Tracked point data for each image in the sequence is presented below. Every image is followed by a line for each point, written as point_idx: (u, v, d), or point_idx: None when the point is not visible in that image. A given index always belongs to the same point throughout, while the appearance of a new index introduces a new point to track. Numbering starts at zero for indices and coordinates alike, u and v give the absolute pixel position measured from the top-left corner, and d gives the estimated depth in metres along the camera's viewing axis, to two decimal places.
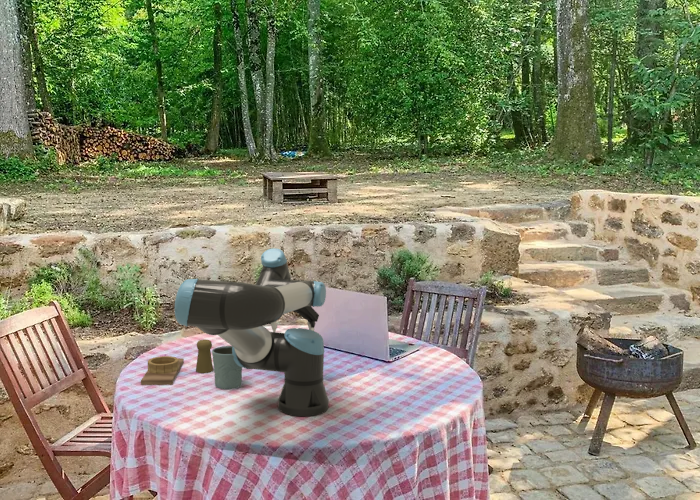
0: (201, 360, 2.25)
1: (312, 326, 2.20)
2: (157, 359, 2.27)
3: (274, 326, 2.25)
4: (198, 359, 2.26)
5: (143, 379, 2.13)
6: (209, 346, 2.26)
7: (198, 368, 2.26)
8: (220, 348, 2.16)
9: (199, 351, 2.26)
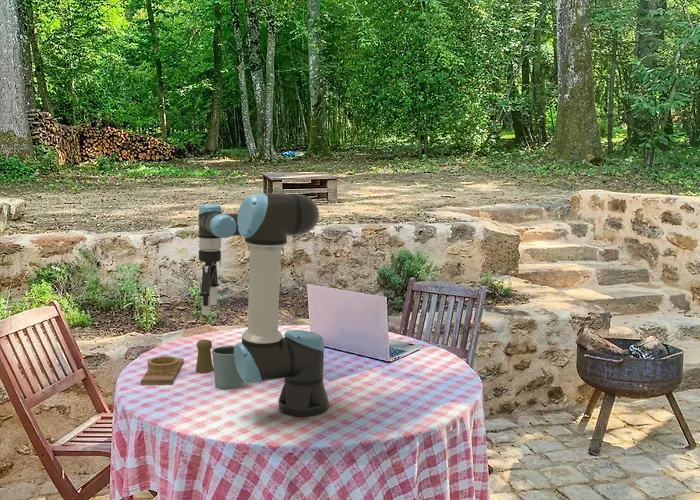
0: (201, 360, 2.25)
1: None
2: (157, 359, 2.27)
3: None
4: (198, 359, 2.26)
5: (143, 379, 2.13)
6: (209, 346, 2.26)
7: (198, 368, 2.26)
8: (220, 348, 2.16)
9: (199, 351, 2.26)
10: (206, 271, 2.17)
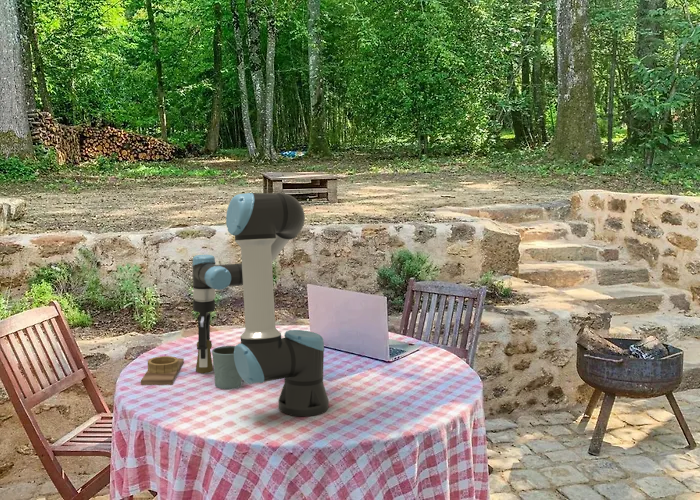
0: None
1: None
2: (157, 359, 2.27)
3: None
4: (198, 359, 2.26)
5: (143, 379, 2.13)
6: (209, 346, 2.26)
7: (198, 368, 2.26)
8: (220, 348, 2.16)
9: None
10: (202, 326, 2.20)
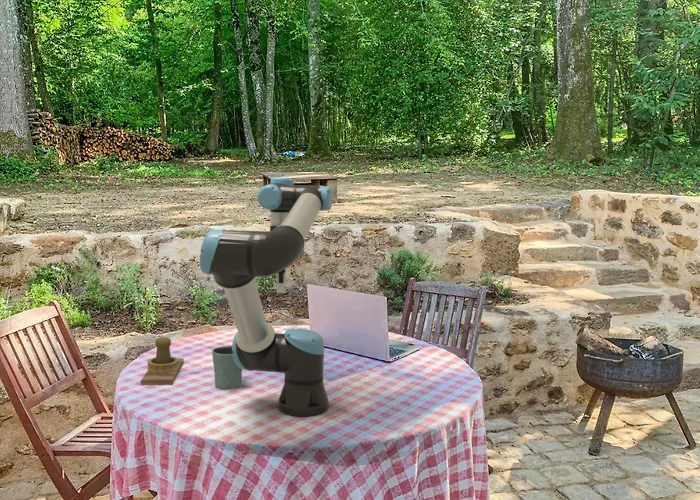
0: (160, 358, 2.21)
1: None
2: None
3: None
4: (157, 357, 2.22)
5: (143, 379, 2.13)
6: (168, 344, 2.22)
7: None
8: (220, 348, 2.16)
9: (158, 349, 2.22)
10: None
